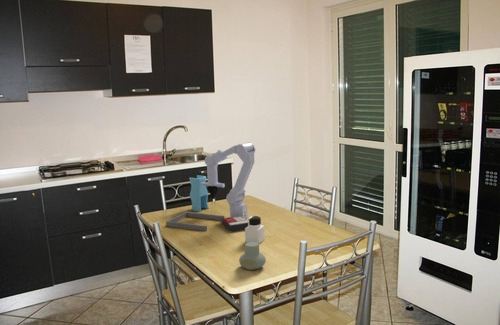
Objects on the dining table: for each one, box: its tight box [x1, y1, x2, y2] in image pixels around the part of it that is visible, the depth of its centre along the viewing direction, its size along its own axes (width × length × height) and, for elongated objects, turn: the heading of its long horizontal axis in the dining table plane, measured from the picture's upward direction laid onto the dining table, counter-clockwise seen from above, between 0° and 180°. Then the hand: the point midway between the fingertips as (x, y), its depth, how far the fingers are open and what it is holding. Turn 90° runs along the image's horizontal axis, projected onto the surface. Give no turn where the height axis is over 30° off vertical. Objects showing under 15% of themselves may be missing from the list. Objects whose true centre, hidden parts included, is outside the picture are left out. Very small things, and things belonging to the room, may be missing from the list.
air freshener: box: [238, 242, 267, 271], centre depth 189 cm, size 11×8×10 cm
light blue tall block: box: [188, 175, 210, 213], centre depth 278 cm, size 8×8×20 cm
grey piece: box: [165, 211, 225, 232], centre depth 252 cm, size 25×20×2 cm
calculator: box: [221, 216, 248, 233], centre depth 243 cm, size 11×4×15 cm
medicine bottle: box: [244, 215, 265, 245], centre depth 220 cm, size 7×7×12 cm
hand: (213, 198), depth 266 cm, fingers closed
